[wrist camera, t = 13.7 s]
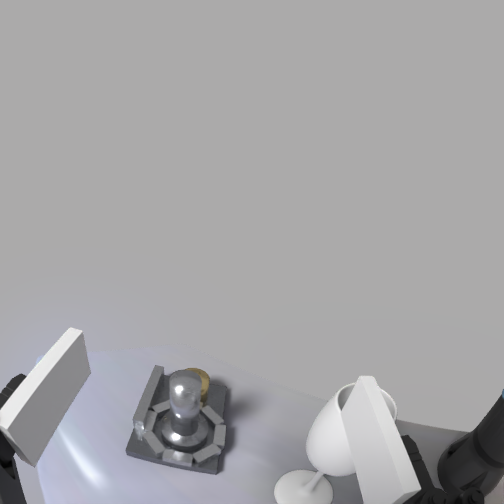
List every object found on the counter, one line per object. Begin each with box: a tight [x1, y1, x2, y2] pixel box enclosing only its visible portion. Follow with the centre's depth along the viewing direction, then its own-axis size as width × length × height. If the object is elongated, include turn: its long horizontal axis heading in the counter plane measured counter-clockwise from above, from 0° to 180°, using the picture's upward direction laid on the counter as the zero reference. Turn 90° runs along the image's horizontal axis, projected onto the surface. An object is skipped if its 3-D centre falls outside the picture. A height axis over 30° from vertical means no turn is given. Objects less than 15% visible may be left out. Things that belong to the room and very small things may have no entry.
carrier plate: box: [126, 365, 226, 475], centre depth 38 cm, size 14×18×6 cm
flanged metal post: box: [160, 370, 208, 451], centre depth 34 cm, size 7×7×12 cm
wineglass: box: [274, 383, 397, 504], centre depth 26 cm, size 9×9×21 cm
